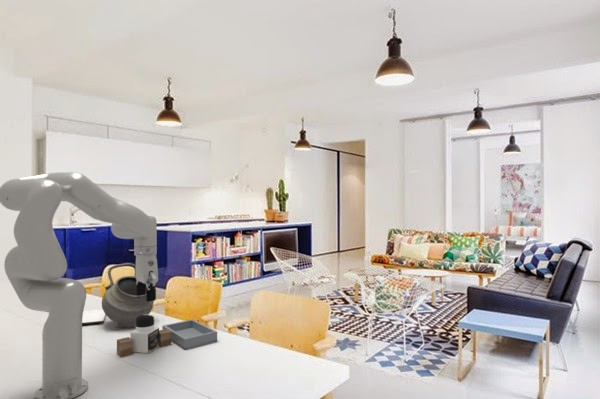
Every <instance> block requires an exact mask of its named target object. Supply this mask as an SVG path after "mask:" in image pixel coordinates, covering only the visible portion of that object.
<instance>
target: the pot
mask: <svg viewBox="0 0 600 399" xmlns="http://www.w3.org/2000/svg"><path fill="white" fill-rule="evenodd" d="M124 267H132V268H133V269H134V275H125V276H121V277H119V278H118V279H117V280H116V281H115V283H114V279H113V277H112V273H111V272H112V270H114V269H117V268H124ZM135 270H136V264H134V263H131V262H126V263H119V264H115V265H111V266H110V267H109V268H108V270H107V277H108V280H109V282H110V283H109V285H106V286H104V289H105V291H104V293H103V296H102V297H101V298H102V299H101V309H103V311H104V313H105V316H106V317H107V318H108V319H109V320H111V321H113V322H114V323H115V324H116V327H117V328H118V329H122V328H123V329H124V328H127V329H130V328H136V318H137V317H138V316H140V315H145V314H149V315H150V314H151V311H152V310H153V307H154V301H155V300H154V301H149V302H147V301H146V294H145V295H141V296H137V295H136V281H137V280H136V272H135ZM149 286H150V284H149ZM146 290H147V286H146Z"/></svg>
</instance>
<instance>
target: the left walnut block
mask: <svg viewBox="0 0 600 399" xmlns="http://www.w3.org/2000/svg"><path fill="white" fill-rule="evenodd" d="M133 353H134V352H133V340H132V339H131V338H130V336H127V337H123V338H118V339H116V355H117V356H119V358H124V357H128V356H131V355H133Z"/></svg>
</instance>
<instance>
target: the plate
mask: <svg viewBox="0 0 600 399" xmlns="http://www.w3.org/2000/svg"><path fill="white" fill-rule="evenodd" d="M105 316H106V314H105V313H104V311H103V309H102V308H101V309H92V310H83V317H82V326H85V325H97V324H100V323H103V322H104V320H105Z"/></svg>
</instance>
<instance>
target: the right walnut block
mask: <svg viewBox="0 0 600 399" xmlns="http://www.w3.org/2000/svg"><path fill="white" fill-rule="evenodd" d="M171 334H172V331H170V330H168V329H164V330H162V329H159V346H158V347H160V348H164V346H165V347H168V345H169V346H172V341H171Z"/></svg>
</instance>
